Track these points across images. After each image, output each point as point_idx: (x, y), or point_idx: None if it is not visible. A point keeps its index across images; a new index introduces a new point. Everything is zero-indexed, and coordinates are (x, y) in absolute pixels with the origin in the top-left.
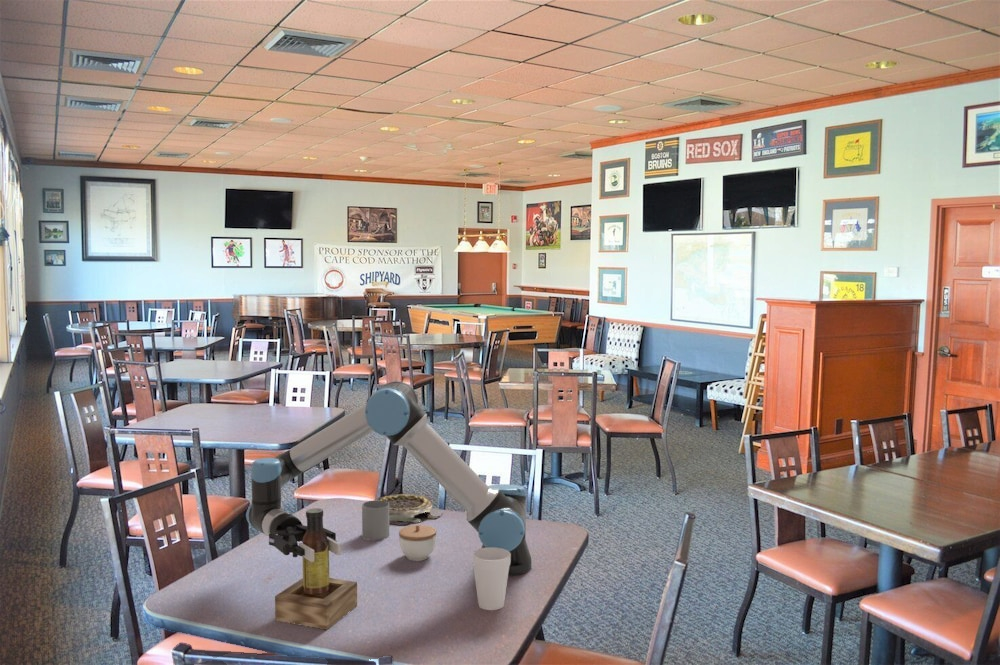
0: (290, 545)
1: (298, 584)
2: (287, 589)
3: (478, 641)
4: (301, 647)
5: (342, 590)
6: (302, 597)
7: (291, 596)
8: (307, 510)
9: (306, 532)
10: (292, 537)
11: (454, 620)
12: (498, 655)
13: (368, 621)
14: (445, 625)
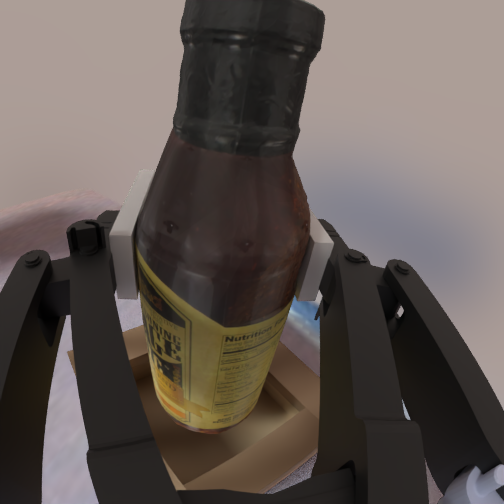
0: (377, 280)
1: (253, 468)
2: (307, 445)
3: (75, 209)
4: (293, 311)
5: (141, 333)
6: (274, 361)
7: (306, 385)
8: (311, 6)
9: (295, 169)
10: (373, 357)
11: (37, 246)
12: (91, 191)
13: (125, 319)
14: (57, 244)
